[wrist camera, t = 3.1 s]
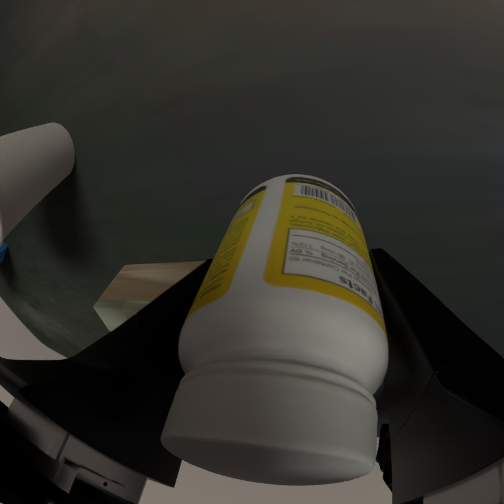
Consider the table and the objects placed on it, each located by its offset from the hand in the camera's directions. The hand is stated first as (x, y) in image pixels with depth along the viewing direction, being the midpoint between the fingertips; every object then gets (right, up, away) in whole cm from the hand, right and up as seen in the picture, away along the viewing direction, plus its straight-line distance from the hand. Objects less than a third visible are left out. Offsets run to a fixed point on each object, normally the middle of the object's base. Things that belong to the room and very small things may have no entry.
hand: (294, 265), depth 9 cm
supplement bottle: (0, +1, +2) cm, 2 cm away
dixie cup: (-19, +10, +11) cm, 24 cm away
